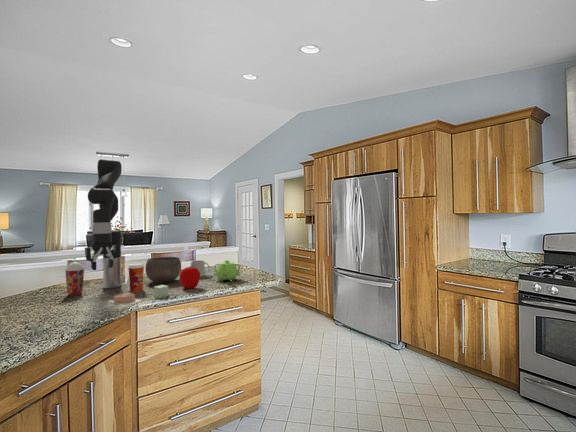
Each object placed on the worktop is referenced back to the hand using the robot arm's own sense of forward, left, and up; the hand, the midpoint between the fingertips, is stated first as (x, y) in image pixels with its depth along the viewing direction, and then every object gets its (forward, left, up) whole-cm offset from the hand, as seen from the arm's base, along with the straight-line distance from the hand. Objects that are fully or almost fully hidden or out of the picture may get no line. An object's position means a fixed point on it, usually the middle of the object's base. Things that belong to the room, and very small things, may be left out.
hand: (102, 268), depth 143 cm
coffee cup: (-15, +24, -18) cm, 33 cm away
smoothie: (-36, +2, -18) cm, 40 cm away
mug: (-21, +71, -18) cm, 76 cm away
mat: (+1, +15, -18) cm, 23 cm away
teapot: (+5, +72, -18) cm, 74 cm away
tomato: (+4, +45, -18) cm, 49 cm away
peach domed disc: (0, +10, -17) cm, 20 cm away
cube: (+7, +25, -17) cm, 31 cm away
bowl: (-25, +47, -18) cm, 56 cm away
